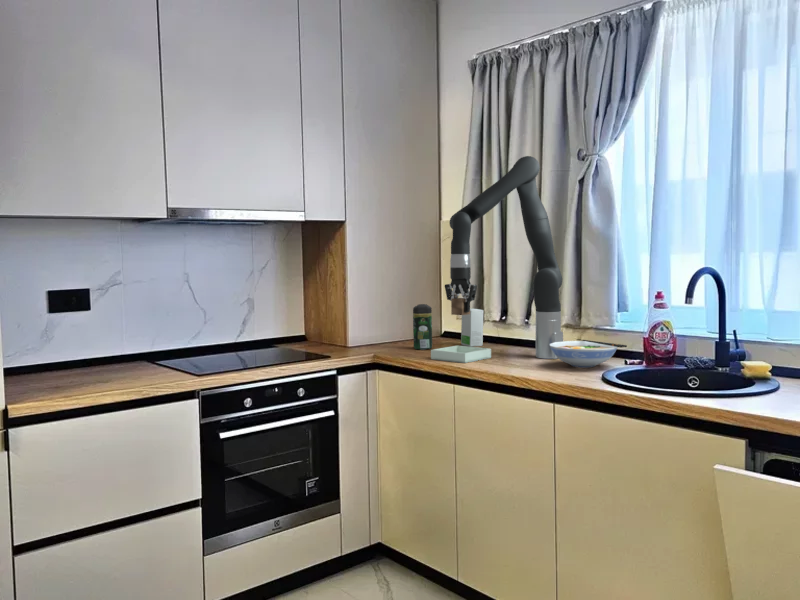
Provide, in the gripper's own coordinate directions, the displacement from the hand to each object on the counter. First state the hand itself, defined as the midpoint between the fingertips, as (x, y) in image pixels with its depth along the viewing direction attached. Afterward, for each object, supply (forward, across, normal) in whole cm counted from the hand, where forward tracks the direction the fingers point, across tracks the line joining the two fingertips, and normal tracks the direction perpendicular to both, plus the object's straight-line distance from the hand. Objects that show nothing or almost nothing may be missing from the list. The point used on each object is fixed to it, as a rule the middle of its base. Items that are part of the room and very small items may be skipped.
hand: (460, 311), depth 256 cm
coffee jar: (+18, +30, -12) cm, 36 cm away
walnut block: (+1, 0, 0) cm, 1 cm away
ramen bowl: (+18, -44, -11) cm, 49 cm away
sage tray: (+17, -1, +1) cm, 18 cm away
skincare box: (+18, +20, -33) cm, 42 cm away
